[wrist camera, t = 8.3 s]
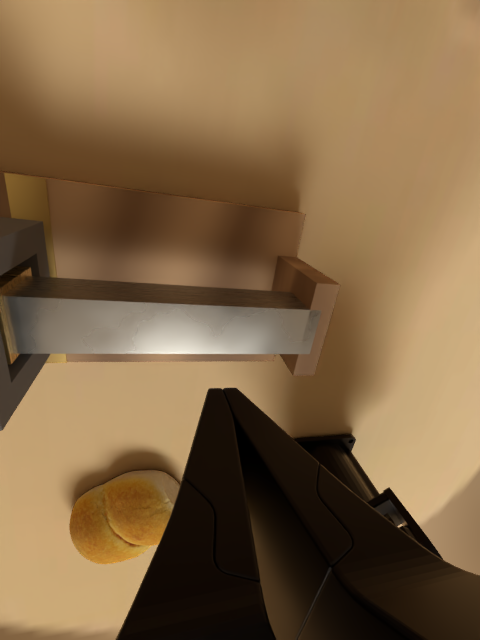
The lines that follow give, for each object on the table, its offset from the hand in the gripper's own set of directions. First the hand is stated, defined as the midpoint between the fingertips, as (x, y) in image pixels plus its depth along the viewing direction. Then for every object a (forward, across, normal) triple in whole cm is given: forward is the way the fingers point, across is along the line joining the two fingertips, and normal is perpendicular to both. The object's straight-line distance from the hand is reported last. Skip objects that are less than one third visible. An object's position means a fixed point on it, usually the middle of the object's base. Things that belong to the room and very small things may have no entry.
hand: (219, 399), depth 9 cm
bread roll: (+11, +4, +20) cm, 23 cm away
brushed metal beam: (+7, +4, 0) cm, 8 cm away
